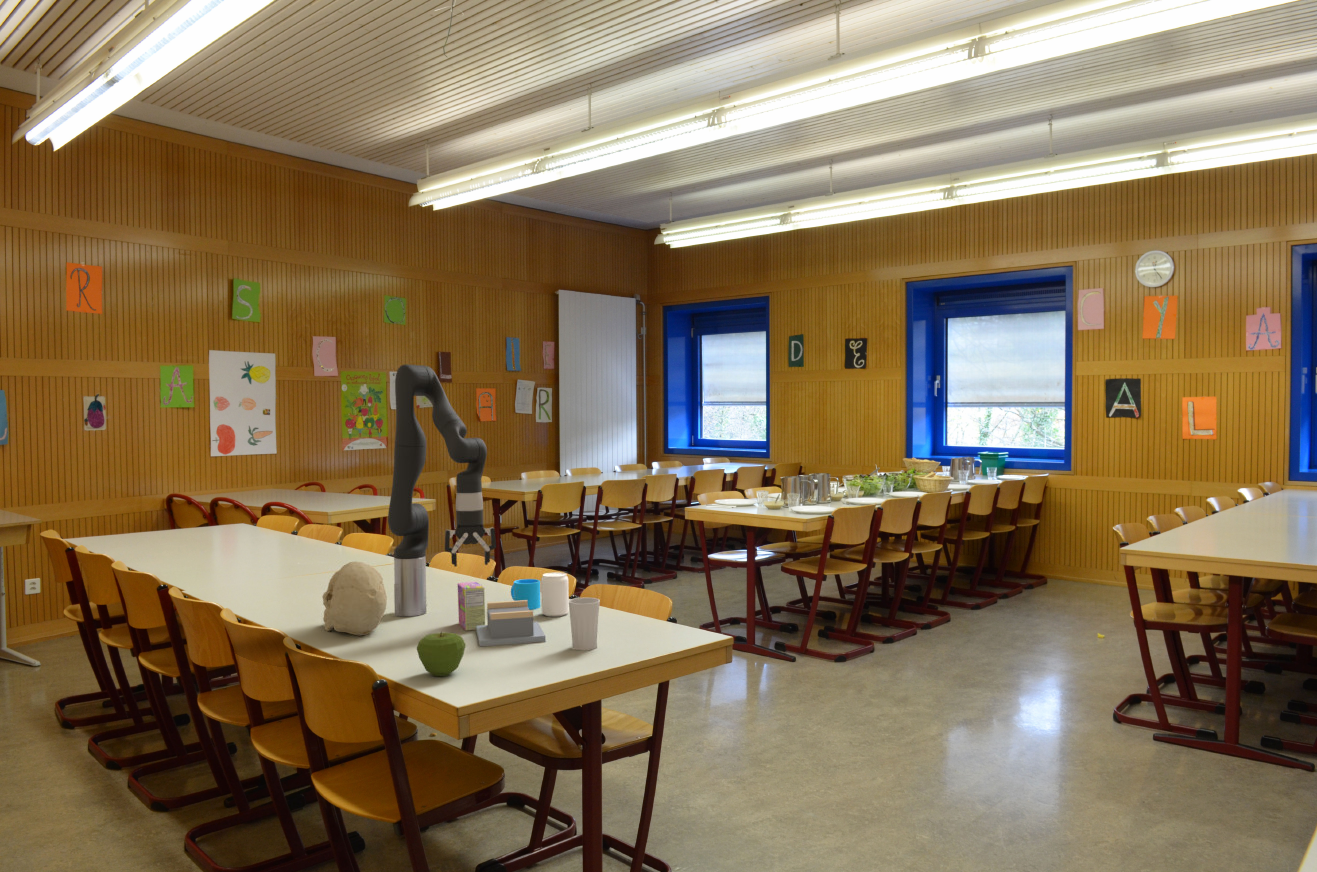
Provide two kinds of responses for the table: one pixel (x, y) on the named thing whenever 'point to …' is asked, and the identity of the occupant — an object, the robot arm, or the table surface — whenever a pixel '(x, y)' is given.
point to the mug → (527, 592)
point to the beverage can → (554, 594)
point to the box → (471, 605)
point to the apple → (441, 652)
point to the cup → (584, 622)
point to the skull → (354, 599)
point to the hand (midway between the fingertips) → (470, 565)
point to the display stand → (509, 625)
